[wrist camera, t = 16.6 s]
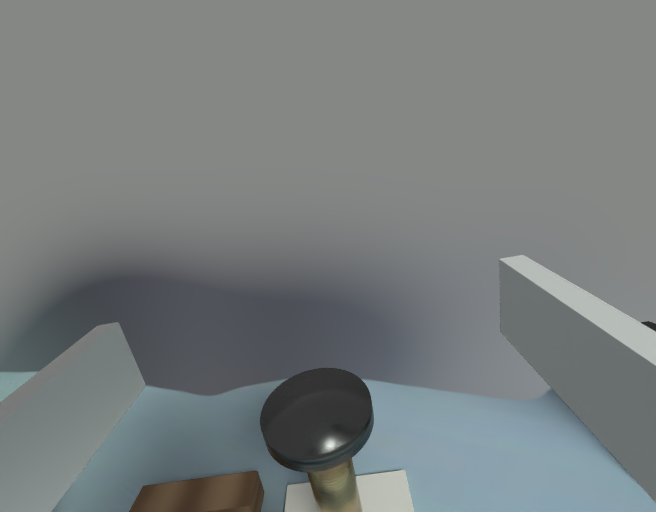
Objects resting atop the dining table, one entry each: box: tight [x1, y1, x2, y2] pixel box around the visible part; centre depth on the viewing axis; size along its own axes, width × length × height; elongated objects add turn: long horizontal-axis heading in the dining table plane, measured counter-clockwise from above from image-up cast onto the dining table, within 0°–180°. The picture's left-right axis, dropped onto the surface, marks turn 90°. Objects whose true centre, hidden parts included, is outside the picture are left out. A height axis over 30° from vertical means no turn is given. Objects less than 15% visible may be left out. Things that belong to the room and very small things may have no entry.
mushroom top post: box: [260, 368, 374, 512], centre depth 30 cm, size 9×9×18 cm
